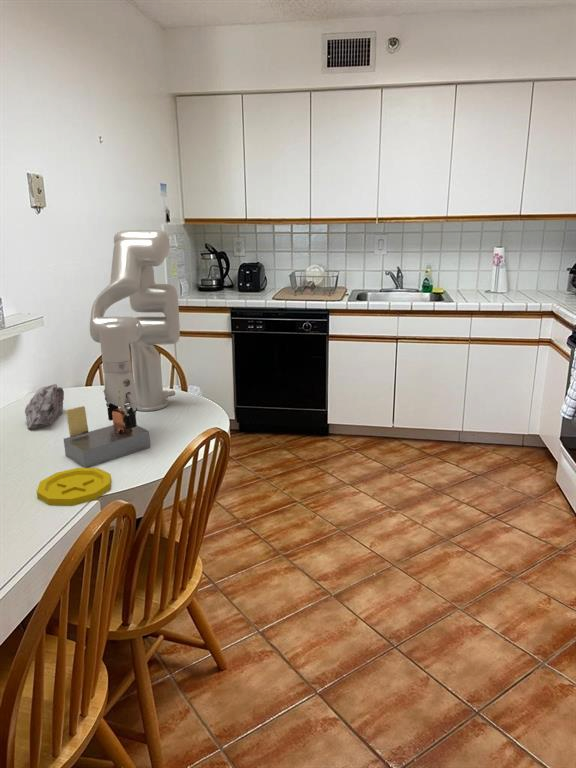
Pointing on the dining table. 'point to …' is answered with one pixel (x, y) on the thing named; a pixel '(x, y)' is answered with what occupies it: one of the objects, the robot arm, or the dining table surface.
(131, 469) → the dining table surface
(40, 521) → the dining table surface
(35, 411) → the rock
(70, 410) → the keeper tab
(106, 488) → the decorative disc
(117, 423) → the small bottle
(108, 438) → the plate
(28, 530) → the dining table surface
